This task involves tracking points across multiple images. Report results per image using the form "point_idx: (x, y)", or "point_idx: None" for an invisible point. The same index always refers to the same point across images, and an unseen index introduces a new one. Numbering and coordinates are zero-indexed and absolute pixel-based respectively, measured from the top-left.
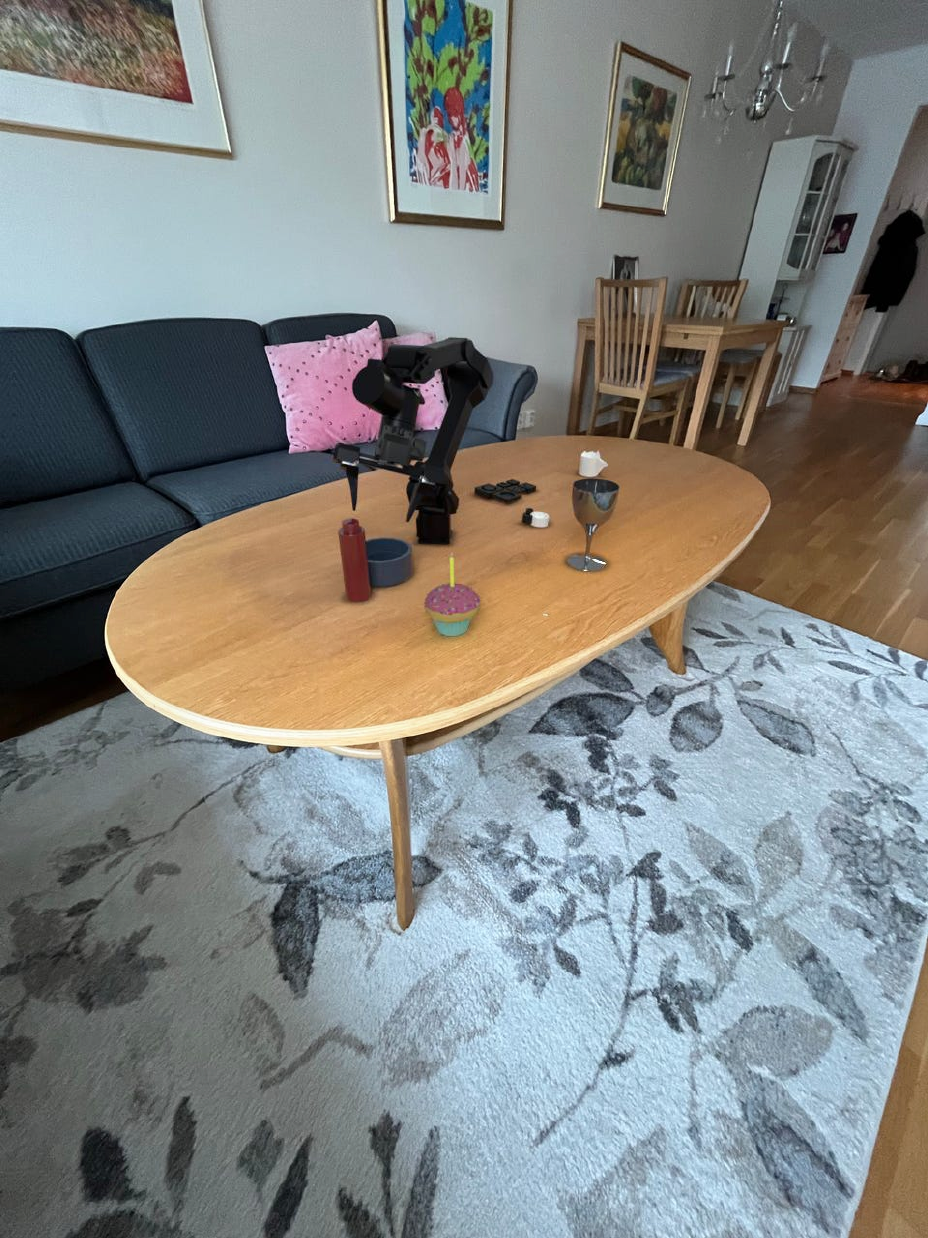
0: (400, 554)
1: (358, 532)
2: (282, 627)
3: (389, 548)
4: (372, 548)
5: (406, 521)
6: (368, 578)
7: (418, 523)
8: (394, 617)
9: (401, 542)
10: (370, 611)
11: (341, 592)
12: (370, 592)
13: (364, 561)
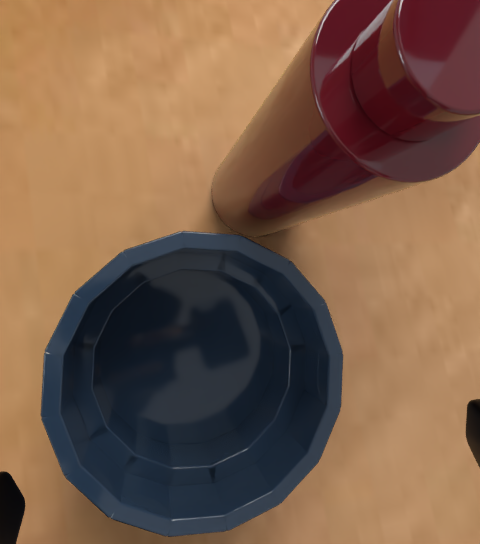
0: (125, 445)
1: (349, 30)
2: None
3: (185, 488)
4: (262, 465)
5: (9, 476)
6: (227, 161)
7: None
8: (103, 40)
9: (116, 493)
10: (195, 87)
11: (316, 220)
12: (214, 183)
13: (256, 113)
